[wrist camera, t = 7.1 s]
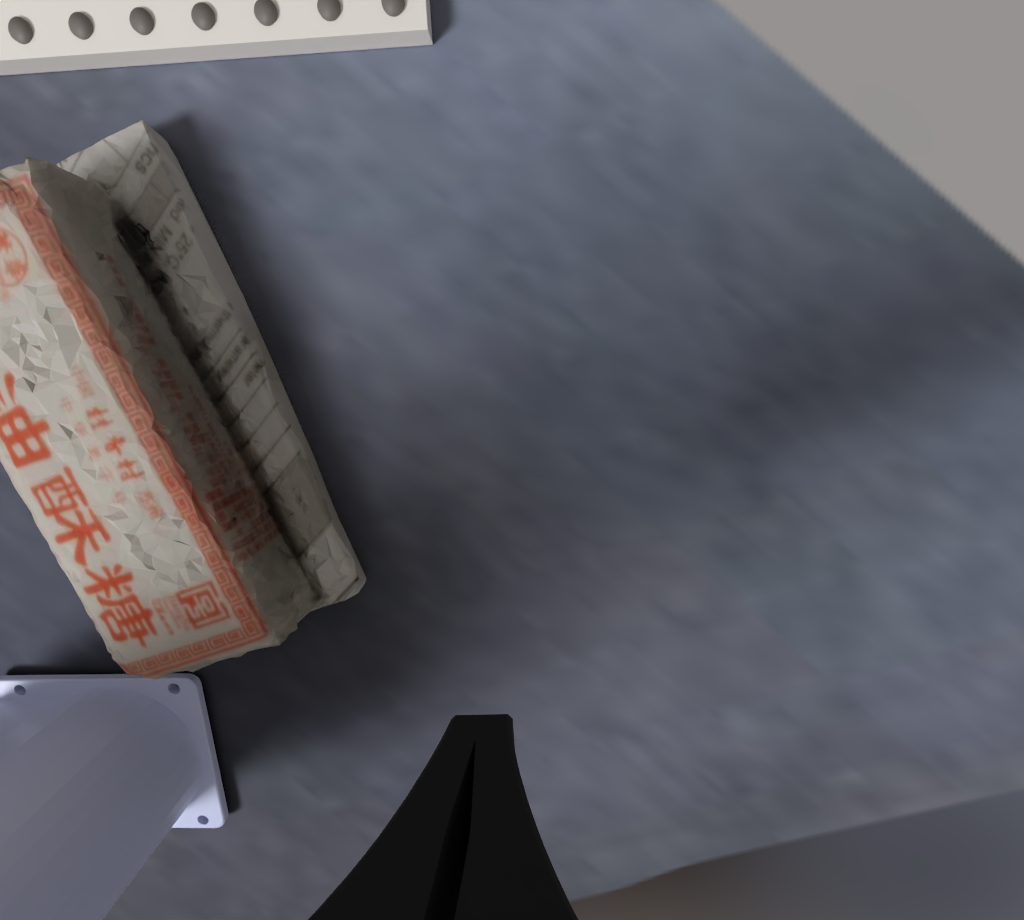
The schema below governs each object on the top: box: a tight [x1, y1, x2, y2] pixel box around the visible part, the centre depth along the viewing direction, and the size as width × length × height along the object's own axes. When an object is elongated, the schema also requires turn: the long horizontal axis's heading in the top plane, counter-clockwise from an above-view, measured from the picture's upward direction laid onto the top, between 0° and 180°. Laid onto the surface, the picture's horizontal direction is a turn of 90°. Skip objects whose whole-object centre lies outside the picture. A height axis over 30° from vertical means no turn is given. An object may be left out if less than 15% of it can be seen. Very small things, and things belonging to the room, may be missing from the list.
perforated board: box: [0, 0, 433, 75], centre depth 16 cm, size 16×2×1 cm, turn 93°
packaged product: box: [0, 120, 366, 679], centre depth 18 cm, size 18×5×10 cm
